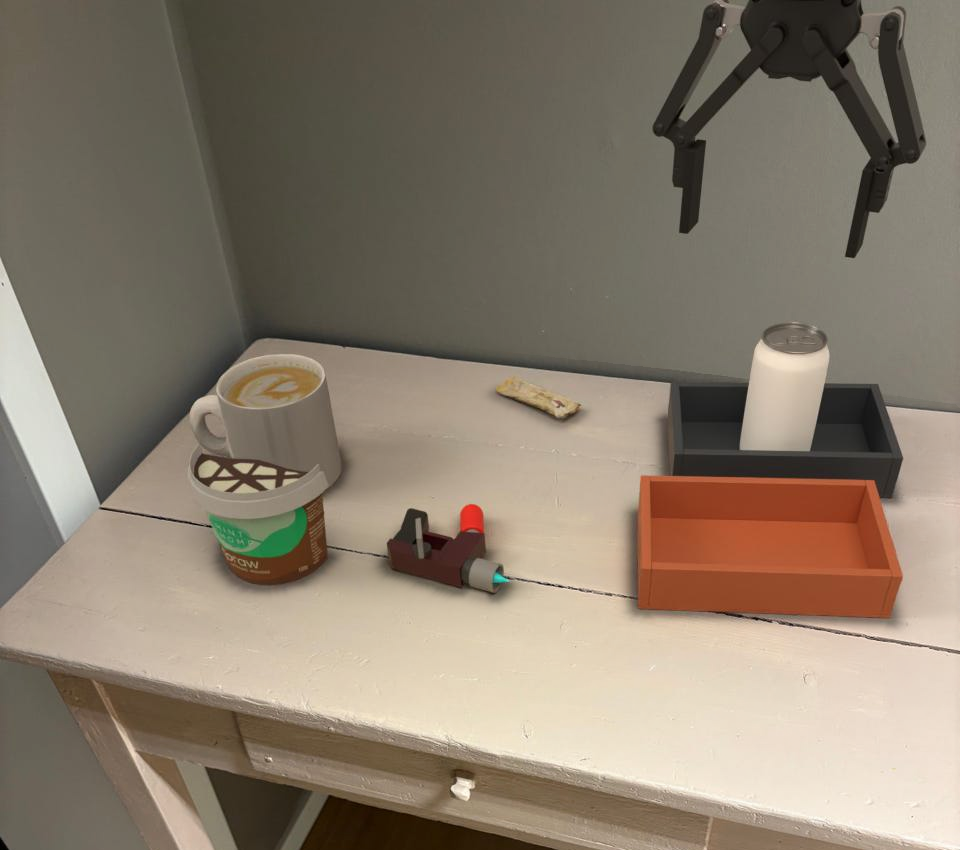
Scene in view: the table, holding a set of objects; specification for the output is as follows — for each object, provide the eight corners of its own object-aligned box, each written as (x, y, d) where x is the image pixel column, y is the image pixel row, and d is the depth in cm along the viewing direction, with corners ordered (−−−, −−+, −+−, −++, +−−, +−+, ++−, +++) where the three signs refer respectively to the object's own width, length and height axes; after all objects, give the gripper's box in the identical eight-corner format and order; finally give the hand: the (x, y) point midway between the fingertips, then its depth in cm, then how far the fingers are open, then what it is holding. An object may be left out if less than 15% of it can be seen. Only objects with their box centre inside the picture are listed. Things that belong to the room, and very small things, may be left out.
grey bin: (868, 422, 98) (878, 383, 95) (891, 498, 89) (903, 457, 86) (667, 419, 100) (670, 381, 97) (670, 493, 91) (674, 453, 88)
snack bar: (493, 389, 105) (511, 370, 106) (497, 399, 106) (515, 380, 107) (563, 418, 100) (581, 398, 100) (566, 428, 101) (584, 408, 102)
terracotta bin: (863, 520, 87) (874, 479, 84) (890, 618, 78) (903, 576, 75) (637, 514, 89) (640, 474, 86) (638, 608, 80) (641, 568, 77)
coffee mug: (356, 449, 99) (341, 358, 92) (318, 508, 92) (299, 414, 85) (235, 436, 102) (211, 346, 95) (190, 491, 95) (161, 399, 88)
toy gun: (502, 605, 81) (500, 559, 78) (374, 571, 85) (367, 526, 82) (546, 536, 88) (546, 491, 84) (425, 508, 92) (420, 463, 88)
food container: (184, 578, 86) (152, 483, 79) (221, 536, 90) (193, 442, 83) (311, 606, 82) (288, 509, 76) (343, 561, 87) (324, 464, 80)
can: (737, 434, 97) (754, 318, 89) (805, 436, 96) (829, 320, 88) (740, 472, 93) (758, 354, 84) (811, 474, 92) (837, 355, 83)
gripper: (620, -73, 69) (608, 234, 83) (1009, -62, 59) (919, 281, 74) (658, -92, 73) (641, 202, 88) (1025, -85, 64) (937, 242, 79)
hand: (768, 239), depth 81 cm, fingers open, 13 cm apart
